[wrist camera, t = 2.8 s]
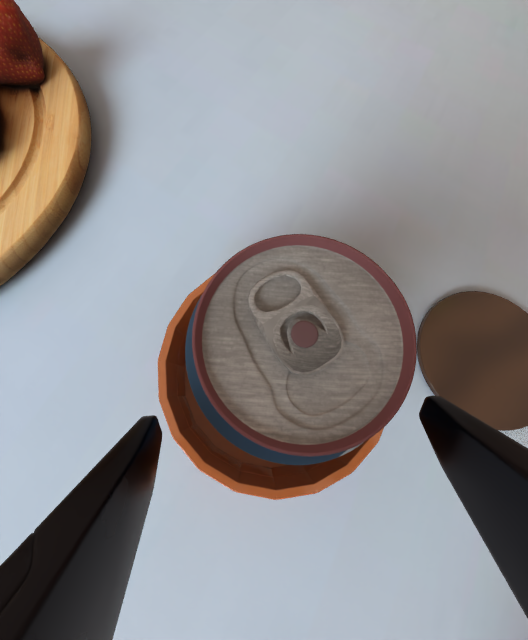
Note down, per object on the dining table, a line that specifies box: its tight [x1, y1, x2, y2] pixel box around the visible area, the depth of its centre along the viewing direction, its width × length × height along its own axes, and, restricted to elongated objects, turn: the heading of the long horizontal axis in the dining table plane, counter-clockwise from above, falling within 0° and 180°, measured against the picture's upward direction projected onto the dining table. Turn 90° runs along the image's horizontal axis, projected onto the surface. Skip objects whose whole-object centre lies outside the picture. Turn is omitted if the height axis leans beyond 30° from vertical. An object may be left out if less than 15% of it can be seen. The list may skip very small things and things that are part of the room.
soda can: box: [185, 234, 417, 465], centre depth 12 cm, size 7×7×12 cm
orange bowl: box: [158, 274, 384, 500], centre depth 16 cm, size 13×13×4 cm
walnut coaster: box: [417, 291, 528, 431], centre depth 19 cm, size 10×10×1 cm
